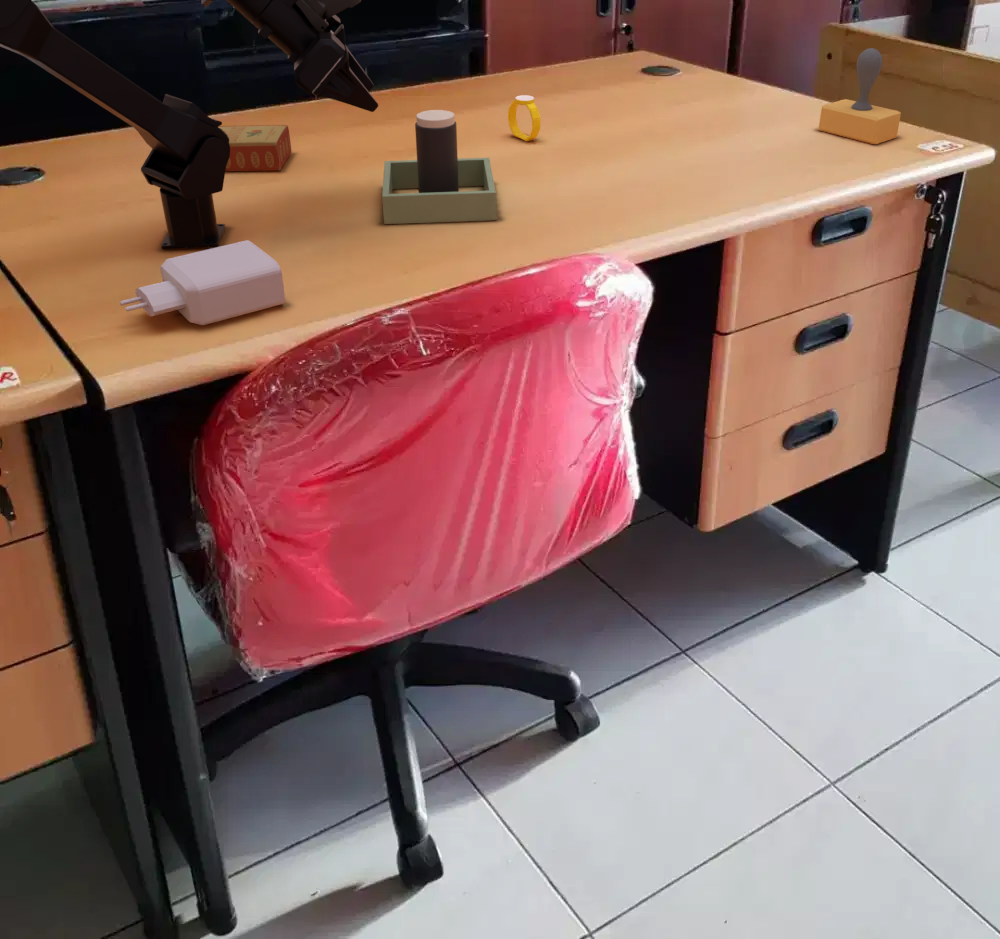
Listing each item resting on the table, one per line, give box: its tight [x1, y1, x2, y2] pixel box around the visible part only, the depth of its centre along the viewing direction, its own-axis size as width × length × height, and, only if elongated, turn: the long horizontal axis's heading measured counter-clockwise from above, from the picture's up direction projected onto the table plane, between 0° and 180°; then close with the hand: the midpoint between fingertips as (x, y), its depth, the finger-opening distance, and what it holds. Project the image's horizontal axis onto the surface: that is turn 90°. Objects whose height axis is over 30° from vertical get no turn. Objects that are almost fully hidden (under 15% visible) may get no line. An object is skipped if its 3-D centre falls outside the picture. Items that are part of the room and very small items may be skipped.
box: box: [381, 157, 497, 225], centre depth 135 cm, size 14×14×4 cm
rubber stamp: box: [817, 47, 902, 145], centre depth 155 cm, size 10×6×12 cm, turn 40°
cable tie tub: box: [414, 109, 460, 193], centre depth 133 cm, size 5×5×11 cm
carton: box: [219, 124, 292, 172], centre depth 149 cm, size 8×16×4 cm, turn 89°
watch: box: [507, 94, 542, 142], centre depth 157 cm, size 6×3×6 cm, turn 38°
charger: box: [119, 239, 286, 326], centre depth 109 cm, size 5×9×15 cm
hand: (373, 98), depth 128 cm, fingers open, 9 cm apart
